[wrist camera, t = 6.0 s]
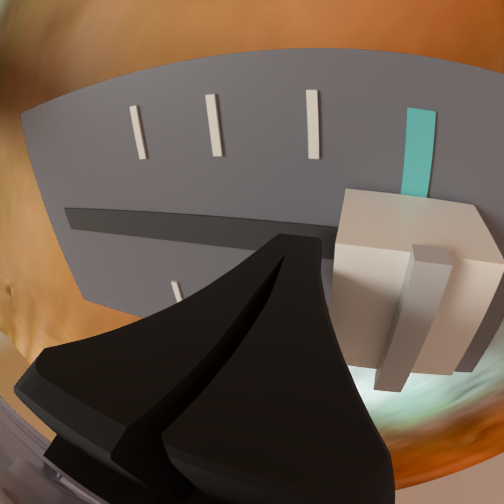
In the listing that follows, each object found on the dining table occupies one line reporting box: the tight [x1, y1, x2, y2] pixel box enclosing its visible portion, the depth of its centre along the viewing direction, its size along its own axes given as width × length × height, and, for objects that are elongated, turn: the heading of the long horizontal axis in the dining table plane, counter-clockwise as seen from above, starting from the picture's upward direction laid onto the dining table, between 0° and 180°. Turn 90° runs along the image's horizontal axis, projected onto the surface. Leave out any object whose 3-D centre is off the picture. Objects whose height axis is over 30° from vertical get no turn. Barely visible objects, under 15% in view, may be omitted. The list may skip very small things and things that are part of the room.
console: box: [19, 48, 504, 372], centre depth 12 cm, size 12×22×2 cm, turn 95°
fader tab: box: [329, 189, 504, 392], centre depth 8 cm, size 4×4×4 cm
